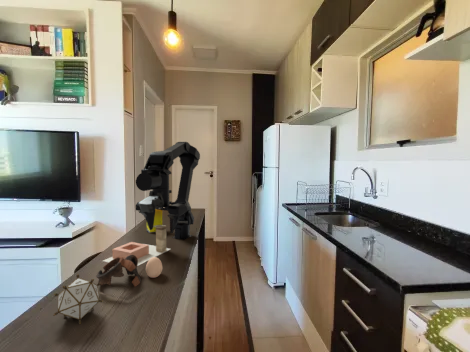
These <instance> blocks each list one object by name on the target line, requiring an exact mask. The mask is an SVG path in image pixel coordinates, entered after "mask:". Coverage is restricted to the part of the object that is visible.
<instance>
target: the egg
mask: <svg viewBox="0 0 470 352" xmlns="http://www.w3.org/2000/svg"><path fill="white" fill-rule="evenodd" d="M146 262H147V263H146V265H145V273H146V275H147V276H148V277H149V278H153V279H154V278H157V277H159V276H160V275H161V273H162V272H163V263H162V261H161V259H160V258H159V257H158V256H156V257H153V258H151V259H150V260H148V261H146Z"/></svg>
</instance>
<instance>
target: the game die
mask: <svg viewBox="0 0 470 352" xmlns="http://www.w3.org/2000/svg"><path fill="white" fill-rule="evenodd" d="M94 281H95V279H94V278H93V279H91V280H88V279H87V280H86V279H84V278H80V274H78V273H77V275H76V278H75V279H74V280H73V281H72V282H71V283H69V284H68V285H67V286H66V285H62V289H63V290H62V291H60V292H59V293H54V294H53V296H54V297H57V311H55V312H54V313H53V315H52V316H54V317H55V316H57V315H58V314H60V315H63V317H64V318H66V317H67V316H68V317H70V318H72V319H76V320H78V324H79V325H81V324H82V318H84V317H85V316H86V315H87V314H88V313H89V312H90V311H91V310H92V309H94V307H95V306H96V305H97V304H98V303H103V302H104V300H103V299H100V293H99V288H98V287H100V286H99V285H100V283H98V282H97V283H94Z"/></svg>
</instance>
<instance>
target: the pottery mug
mask: <svg viewBox="0 0 470 352" xmlns="http://www.w3.org/2000/svg"><path fill="white" fill-rule="evenodd" d="M137 265H138V259H137V257H136V256H135V255H129V256H127V257H126V258H125V259H124V258H123V257H122V256H121V257H117V258H115V259H113V260H112V261H110V262H109V263H108V262H107V263H106V264H105V265H104V266H103V267H102V268H103V270H104V271H102V269H100V270H99V271H98V272H97V273H96V278H97V280H98V281H97V284H98V283H100V285H99V286H98V287H100V286H104V285H108V286H111V285H112V277H113V278H122V277H124V276H125V274H124V273H123V268H124V269H125V271H126V274H127V276H128V275H129V276H134V278H133V279H132V281H131V284H132V285H133V286H134V288H136V287H137V286H138V285H140V283H141V281H142V280H141V277H140V275H139V272H138V269H137V267H138V266H139V265H138V266H137Z"/></svg>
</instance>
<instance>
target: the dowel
mask: <svg viewBox="0 0 470 352" xmlns="http://www.w3.org/2000/svg"><path fill="white" fill-rule="evenodd" d="M155 246H156V251H157V252H164V251H166V248H167V225H165V224H162V225H158V226H156V232H155ZM166 252H167V251H166ZM164 253H165V252H164Z"/></svg>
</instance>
